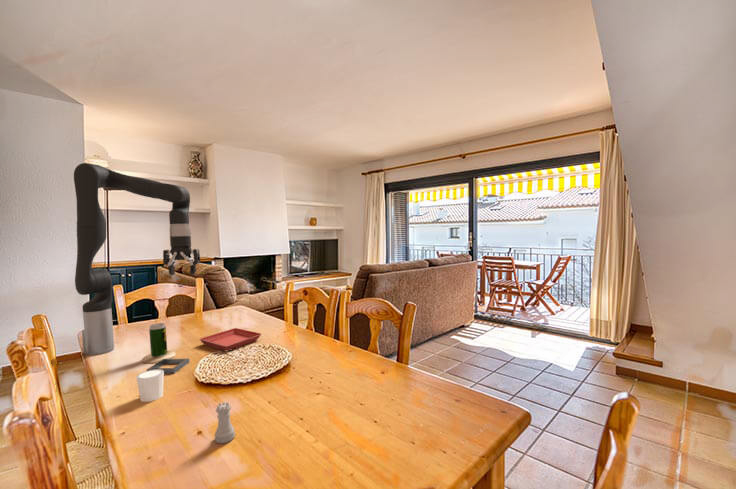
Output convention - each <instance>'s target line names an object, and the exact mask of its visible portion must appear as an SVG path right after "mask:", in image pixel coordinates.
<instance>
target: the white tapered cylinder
mask: <svg viewBox="0 0 736 489" xmlns="http://www.w3.org/2000/svg"><path fill="white" fill-rule="evenodd" d="M164 375H165V374H164V371H163V370H161V369H155V370H149V371H147V370H146V371H143V372H141V373H139V374H137V375H136V377H135V378H136V382H137V383H136V384H137V388H138V394H139V399H140V402H142V403H148V402H154V401H156V400H159V399H161V397H163V396H164V381H165V380H164V378H165V377H164Z"/></svg>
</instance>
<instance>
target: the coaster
mask: <svg viewBox="0 0 736 489" xmlns="http://www.w3.org/2000/svg"><path fill="white" fill-rule="evenodd" d="M176 356H177V354H176V351H172V350H167V355H166V356H164V357H161V358H152V356H151V353H149V354H148V355H147V354H146V356H143V357H142V359H141V362H142V363H144V364H156V363H158V362H160V361H161V360H163V359H174V358H175V357H176Z"/></svg>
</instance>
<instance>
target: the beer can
mask: <svg viewBox="0 0 736 489" xmlns="http://www.w3.org/2000/svg"><path fill="white" fill-rule="evenodd" d="M166 327H167V326H166V323H162V322H160V323H159V322H158V323H154V324H151V325H149V328H148V329H149V346H150V354H151V356H152V358H161V357H164V356H166V355H167V351H168V343H167V339H168V338H167V328H166Z"/></svg>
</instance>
